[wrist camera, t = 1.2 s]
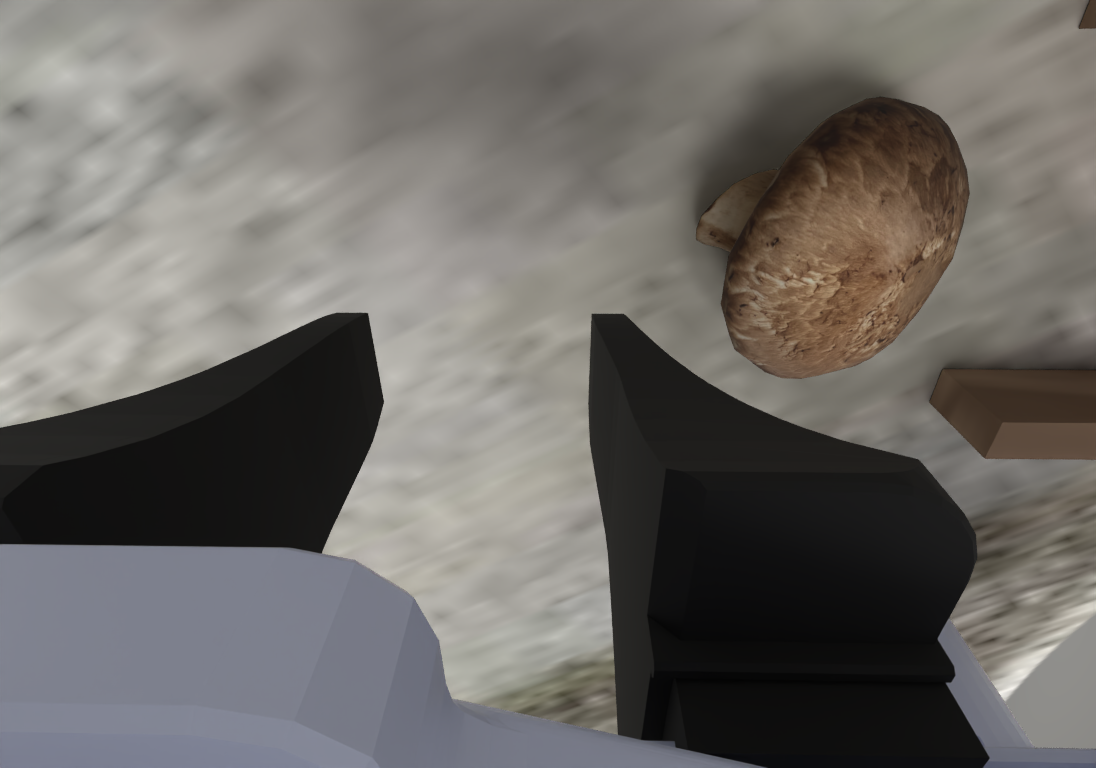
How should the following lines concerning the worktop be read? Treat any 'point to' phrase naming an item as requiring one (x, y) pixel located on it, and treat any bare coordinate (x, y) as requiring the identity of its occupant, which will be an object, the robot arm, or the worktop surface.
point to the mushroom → (840, 238)
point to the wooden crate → (1023, 402)
